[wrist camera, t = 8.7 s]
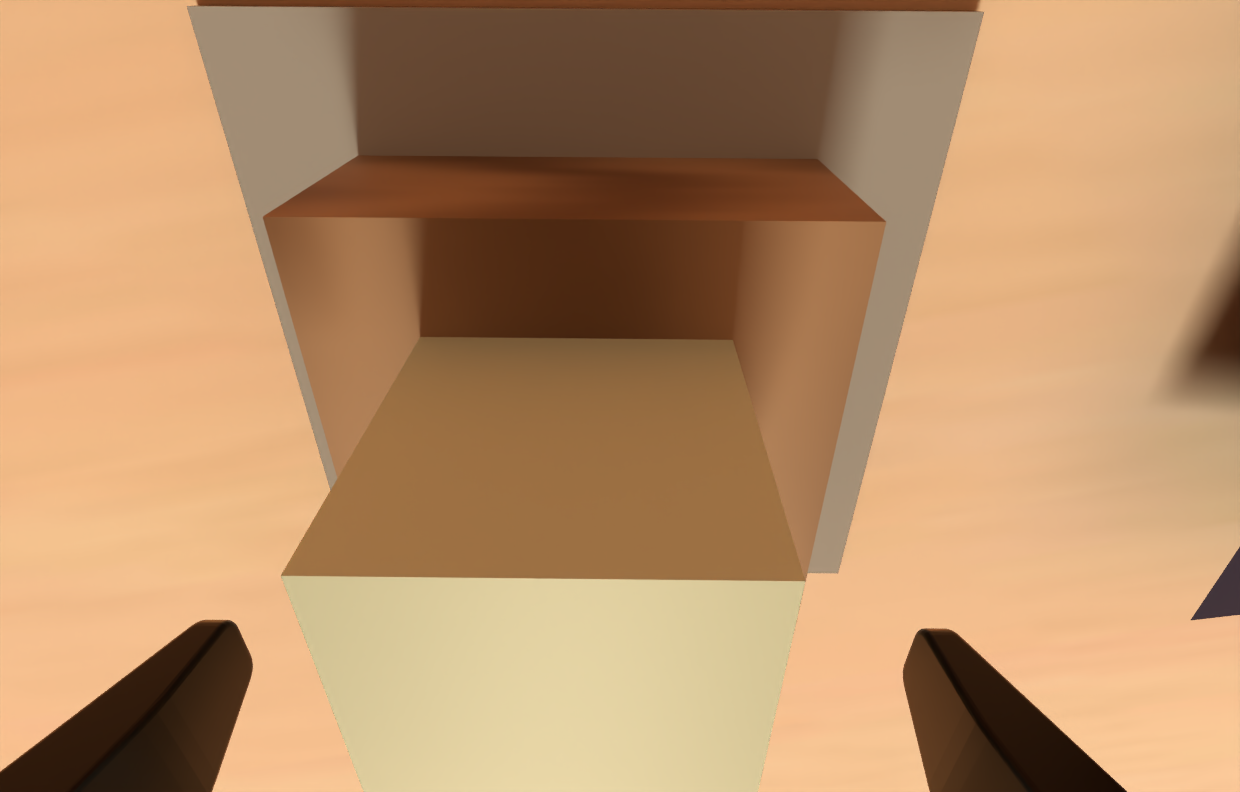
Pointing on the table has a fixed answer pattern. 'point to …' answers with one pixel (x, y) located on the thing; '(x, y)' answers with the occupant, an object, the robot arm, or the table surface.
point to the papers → (1223, 593)
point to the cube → (554, 572)
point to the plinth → (588, 279)
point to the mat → (608, 123)
